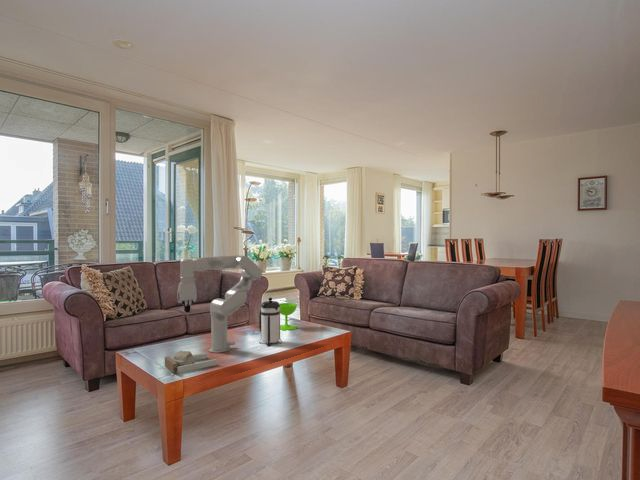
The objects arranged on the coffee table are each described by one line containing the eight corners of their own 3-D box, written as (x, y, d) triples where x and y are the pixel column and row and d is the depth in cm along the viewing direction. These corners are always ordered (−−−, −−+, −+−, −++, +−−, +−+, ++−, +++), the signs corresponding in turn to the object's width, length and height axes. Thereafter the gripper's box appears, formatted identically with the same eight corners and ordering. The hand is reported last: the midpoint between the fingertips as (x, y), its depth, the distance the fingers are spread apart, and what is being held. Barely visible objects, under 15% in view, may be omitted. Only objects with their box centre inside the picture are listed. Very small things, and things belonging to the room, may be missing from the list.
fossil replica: (194, 369, 199) (196, 365, 208) (195, 353, 199) (197, 349, 209) (170, 369, 196) (173, 365, 206) (171, 353, 197) (174, 349, 206)
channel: (206, 357, 218) (206, 349, 218) (217, 364, 205) (216, 355, 205) (164, 366, 204) (164, 356, 204) (173, 374, 192) (173, 364, 192)
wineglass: (280, 331, 279) (280, 307, 279) (272, 327, 293) (272, 304, 293) (300, 329, 286) (300, 305, 286) (291, 325, 301) (291, 302, 301)
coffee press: (284, 340, 255) (284, 295, 255) (279, 346, 240) (278, 299, 240) (259, 339, 258) (259, 295, 258) (252, 345, 242) (252, 299, 242)
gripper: (196, 279, 227) (197, 309, 227) (171, 280, 217) (171, 312, 217) (202, 280, 221) (202, 311, 221) (176, 282, 211) (176, 314, 211)
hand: (187, 312), depth 219 cm, fingers closed
